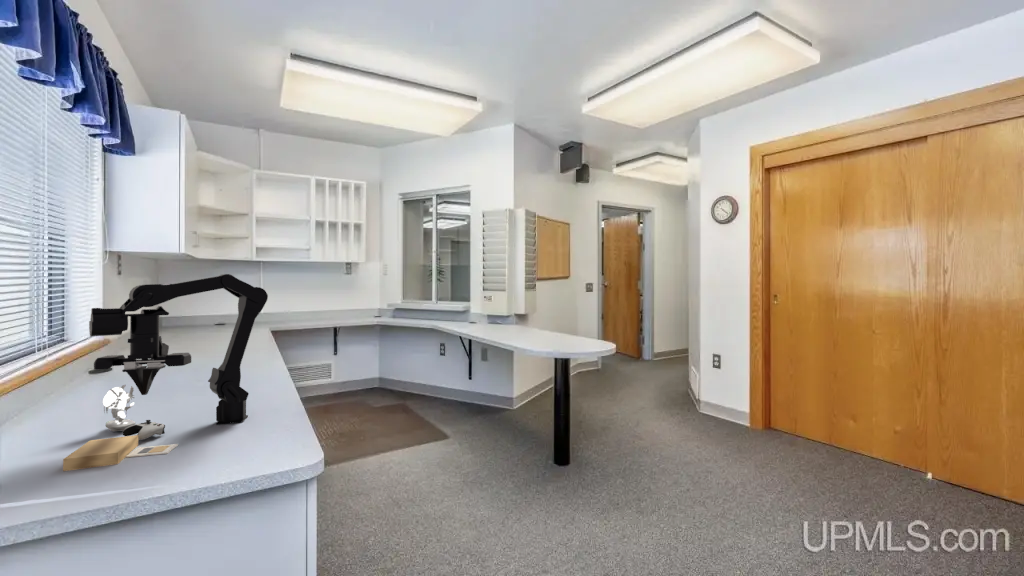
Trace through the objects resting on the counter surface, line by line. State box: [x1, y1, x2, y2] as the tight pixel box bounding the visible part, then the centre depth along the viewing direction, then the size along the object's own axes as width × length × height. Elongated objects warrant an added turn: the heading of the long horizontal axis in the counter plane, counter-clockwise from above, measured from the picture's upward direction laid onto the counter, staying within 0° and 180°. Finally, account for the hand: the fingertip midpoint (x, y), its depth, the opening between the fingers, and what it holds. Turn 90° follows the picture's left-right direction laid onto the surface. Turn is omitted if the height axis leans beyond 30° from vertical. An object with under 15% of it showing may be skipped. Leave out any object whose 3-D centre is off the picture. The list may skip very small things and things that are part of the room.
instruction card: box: [125, 443, 179, 458], centre depth 105 cm, size 8×6×1 cm
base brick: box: [62, 434, 139, 472], centre depth 101 cm, size 9×13×3 cm
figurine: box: [102, 384, 137, 433], centre depth 120 cm, size 9×6×12 cm
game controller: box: [121, 419, 166, 441], centre depth 115 cm, size 10×5×6 cm
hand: (144, 394), depth 113 cm, fingers closed
